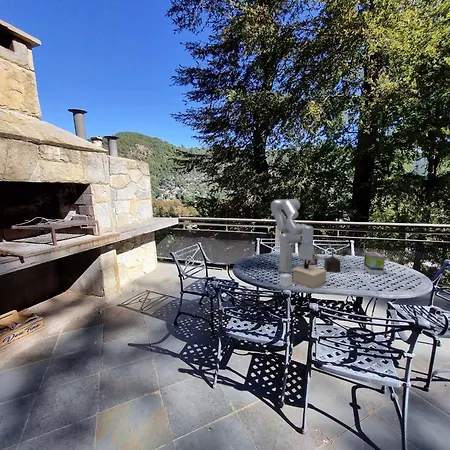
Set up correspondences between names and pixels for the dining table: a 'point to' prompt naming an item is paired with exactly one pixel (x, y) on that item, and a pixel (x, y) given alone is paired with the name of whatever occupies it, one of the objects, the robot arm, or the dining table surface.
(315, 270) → the box lid
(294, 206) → the robot arm
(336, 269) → the manual coffee grinder
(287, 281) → the weight block
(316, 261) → the ammunition clip
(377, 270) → the tea box
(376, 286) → the dining table surface
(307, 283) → the cardboard box
